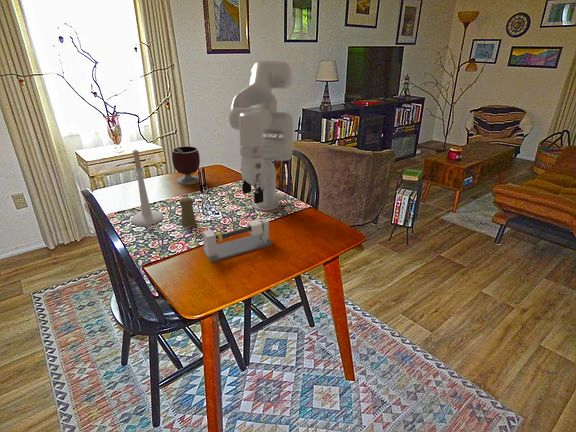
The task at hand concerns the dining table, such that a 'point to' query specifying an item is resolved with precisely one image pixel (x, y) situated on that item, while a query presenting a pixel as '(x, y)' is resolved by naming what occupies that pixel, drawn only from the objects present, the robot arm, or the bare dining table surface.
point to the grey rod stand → (234, 242)
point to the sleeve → (255, 227)
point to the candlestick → (144, 200)
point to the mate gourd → (186, 163)
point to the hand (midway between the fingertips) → (252, 197)
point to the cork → (187, 212)
